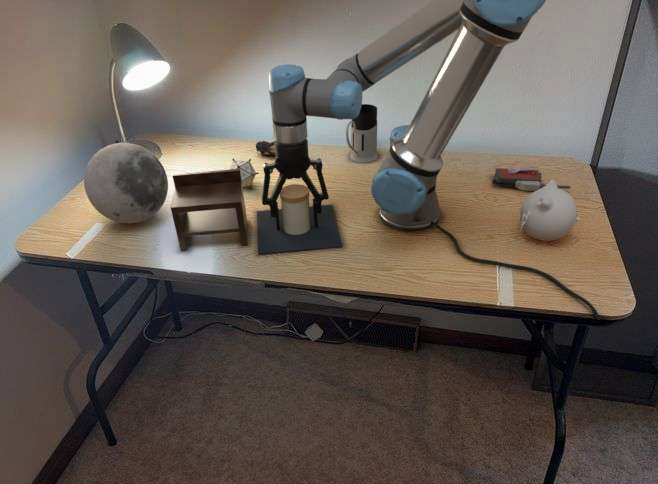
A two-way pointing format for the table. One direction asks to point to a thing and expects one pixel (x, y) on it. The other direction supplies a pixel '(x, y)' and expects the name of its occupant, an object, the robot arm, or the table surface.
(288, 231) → the canister
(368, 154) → the glass holder
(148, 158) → the moon model
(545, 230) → the grey round piece
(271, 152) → the toy figure
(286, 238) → the mat
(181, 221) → the shelf
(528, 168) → the walkie-talkie
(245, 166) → the spiked polyhedron
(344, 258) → the table surface
